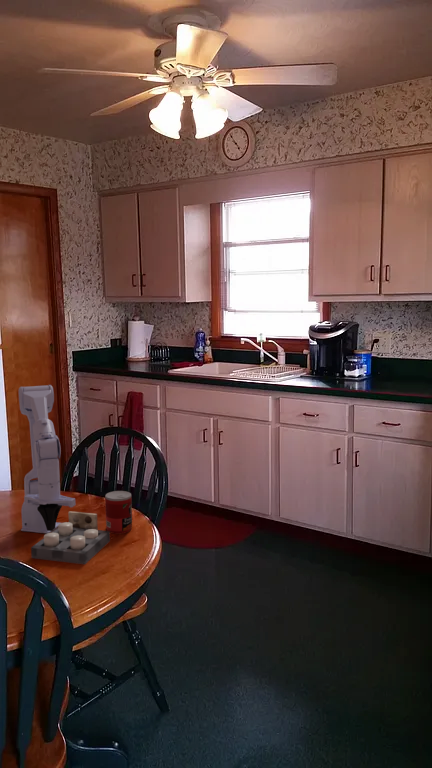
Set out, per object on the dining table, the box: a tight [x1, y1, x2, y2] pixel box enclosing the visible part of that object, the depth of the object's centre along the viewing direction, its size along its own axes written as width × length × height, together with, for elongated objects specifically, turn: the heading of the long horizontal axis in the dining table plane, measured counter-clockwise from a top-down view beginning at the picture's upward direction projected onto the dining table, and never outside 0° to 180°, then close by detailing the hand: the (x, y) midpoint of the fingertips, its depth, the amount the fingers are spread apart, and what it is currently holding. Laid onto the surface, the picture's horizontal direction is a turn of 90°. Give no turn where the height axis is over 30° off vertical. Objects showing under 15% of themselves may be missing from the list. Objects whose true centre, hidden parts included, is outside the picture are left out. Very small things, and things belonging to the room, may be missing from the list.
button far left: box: [57, 521, 73, 536], centre depth 178 cm, size 4×4×3 cm
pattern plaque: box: [68, 510, 99, 530], centre depth 184 cm, size 9×1×6 cm, turn 75°
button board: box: [30, 527, 111, 565], centre depth 173 cm, size 16×16×3 cm
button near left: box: [43, 532, 59, 547], centre depth 170 cm, size 4×4×3 cm
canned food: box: [104, 490, 133, 535], centre depth 187 cm, size 8×8×11 cm
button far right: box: [84, 529, 99, 539], centre depth 176 cm, size 4×4×3 cm
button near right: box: [70, 535, 85, 550], centre depth 168 cm, size 4×4×3 cm
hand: (51, 529), depth 169 cm, fingers closed
